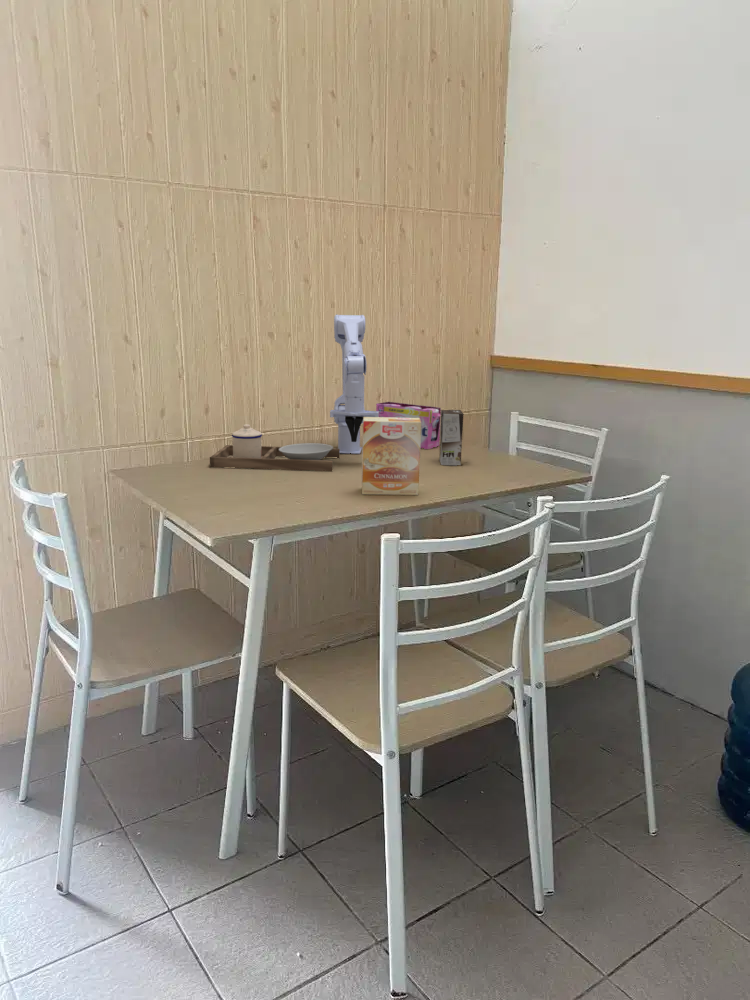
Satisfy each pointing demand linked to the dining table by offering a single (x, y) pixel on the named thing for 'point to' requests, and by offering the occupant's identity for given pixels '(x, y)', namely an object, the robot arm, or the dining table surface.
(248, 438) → the teacup with lid
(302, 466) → the caddy
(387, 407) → the gum box
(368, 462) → the coffeecake box
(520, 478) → the dining table surface
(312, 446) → the dish
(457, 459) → the coffee box
